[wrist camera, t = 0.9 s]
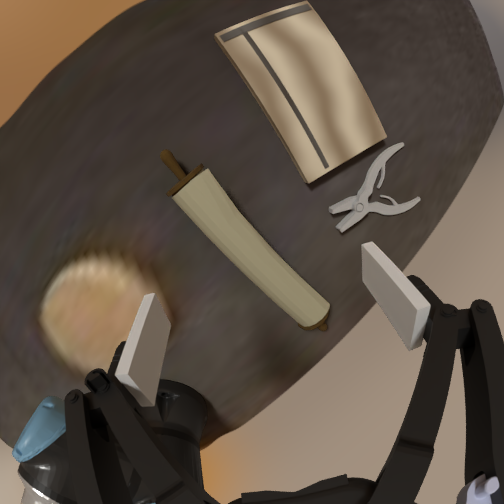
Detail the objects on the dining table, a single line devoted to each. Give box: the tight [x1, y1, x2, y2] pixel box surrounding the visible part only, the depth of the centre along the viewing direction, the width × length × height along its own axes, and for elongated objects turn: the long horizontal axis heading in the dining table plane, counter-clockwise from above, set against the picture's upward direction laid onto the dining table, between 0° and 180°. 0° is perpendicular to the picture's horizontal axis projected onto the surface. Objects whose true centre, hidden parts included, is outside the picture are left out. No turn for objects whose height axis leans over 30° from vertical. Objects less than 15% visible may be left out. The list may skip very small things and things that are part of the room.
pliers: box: [329, 143, 420, 232], centre depth 35 cm, size 10×2×15 cm
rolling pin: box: [160, 149, 330, 331], centre depth 33 cm, size 32×6×5 cm, turn 40°
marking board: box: [214, 1, 387, 184], centre depth 28 cm, size 13×21×2 cm, turn 31°
